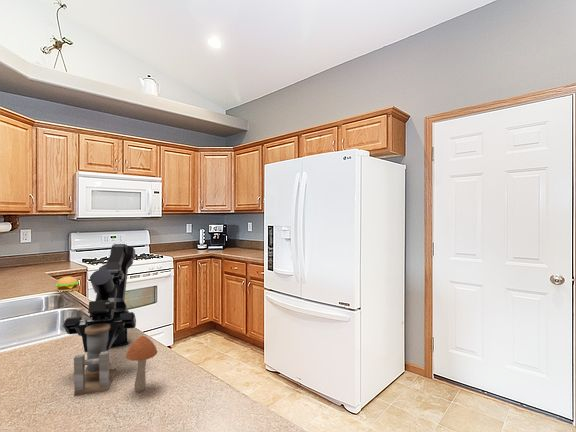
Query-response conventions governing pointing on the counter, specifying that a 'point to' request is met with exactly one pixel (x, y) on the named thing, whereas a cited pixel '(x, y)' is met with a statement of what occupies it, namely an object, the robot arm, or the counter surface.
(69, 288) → the hamburger
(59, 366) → the counter surface
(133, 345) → the mushroom
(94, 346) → the ball
